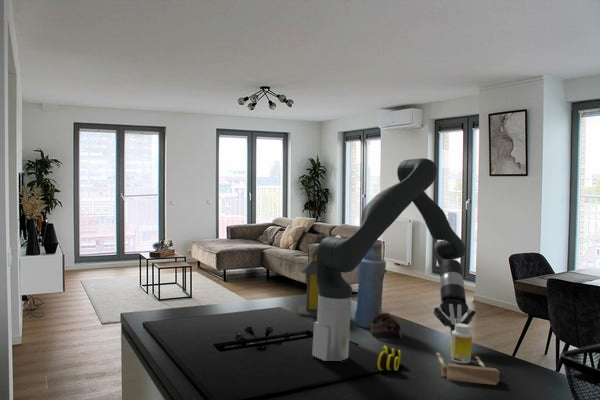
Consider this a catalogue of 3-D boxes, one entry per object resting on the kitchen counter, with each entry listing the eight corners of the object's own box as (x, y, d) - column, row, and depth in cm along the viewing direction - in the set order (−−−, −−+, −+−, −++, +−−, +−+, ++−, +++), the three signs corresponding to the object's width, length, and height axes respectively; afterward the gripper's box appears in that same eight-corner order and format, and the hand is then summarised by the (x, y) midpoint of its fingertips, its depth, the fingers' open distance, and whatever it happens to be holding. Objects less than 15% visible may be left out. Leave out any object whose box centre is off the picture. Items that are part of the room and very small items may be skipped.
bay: (432, 353, 151) (433, 341, 151) (481, 357, 149) (482, 345, 149) (443, 379, 129) (444, 365, 129) (501, 385, 127) (501, 371, 127)
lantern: (336, 318, 186) (340, 236, 185) (297, 316, 186) (302, 234, 185) (334, 309, 200) (338, 233, 199) (298, 307, 200) (302, 231, 199)
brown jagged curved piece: (404, 342, 162) (394, 320, 160) (377, 352, 164) (366, 330, 163) (403, 323, 173) (393, 303, 172) (377, 332, 176) (367, 312, 174)
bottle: (378, 330, 172) (384, 242, 172) (350, 325, 176) (356, 239, 175) (385, 324, 181) (390, 240, 180) (358, 320, 185) (363, 237, 184)
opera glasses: (397, 375, 131) (398, 356, 130) (376, 372, 132) (377, 353, 132) (401, 364, 140) (402, 345, 140) (381, 361, 141) (382, 343, 141)
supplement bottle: (474, 363, 143) (476, 327, 143) (458, 364, 141) (460, 328, 141) (461, 357, 148) (464, 322, 148) (445, 358, 147) (448, 322, 146)
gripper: (432, 281, 162) (435, 329, 150) (475, 284, 160) (482, 333, 149) (429, 294, 168) (432, 342, 156) (471, 297, 166) (477, 346, 154)
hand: (456, 338), depth 152 cm, fingers closed
